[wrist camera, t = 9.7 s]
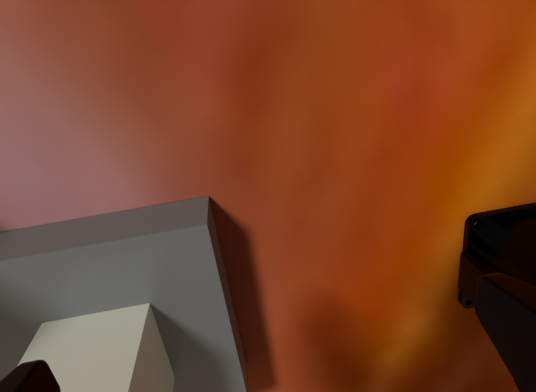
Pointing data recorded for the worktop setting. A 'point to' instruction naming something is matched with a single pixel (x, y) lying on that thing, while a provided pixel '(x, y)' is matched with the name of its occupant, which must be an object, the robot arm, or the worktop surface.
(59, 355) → the cube
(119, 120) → the worktop surface
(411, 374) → the worktop surface
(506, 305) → the robot arm
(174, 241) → the plinth
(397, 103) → the worktop surface
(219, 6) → the worktop surface
